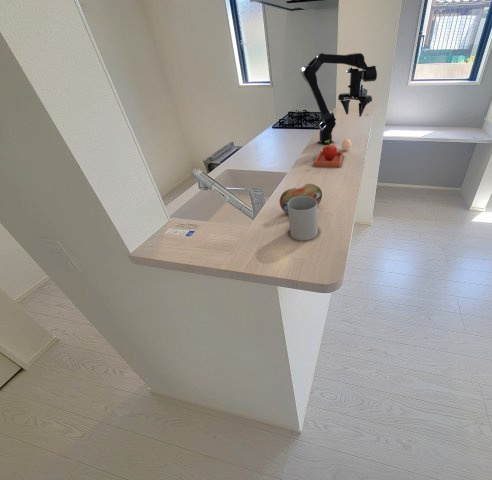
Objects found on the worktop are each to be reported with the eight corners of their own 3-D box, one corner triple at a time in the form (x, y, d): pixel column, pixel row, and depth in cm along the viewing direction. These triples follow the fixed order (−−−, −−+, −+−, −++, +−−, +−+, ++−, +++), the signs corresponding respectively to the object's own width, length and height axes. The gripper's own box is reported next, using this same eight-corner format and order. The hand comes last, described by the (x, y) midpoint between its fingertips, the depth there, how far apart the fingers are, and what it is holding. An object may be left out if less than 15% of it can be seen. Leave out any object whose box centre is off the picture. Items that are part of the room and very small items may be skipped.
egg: (342, 148, 142) (343, 137, 139) (352, 149, 141) (352, 137, 137) (340, 151, 139) (340, 139, 135) (349, 152, 137) (350, 140, 133)
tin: (283, 217, 88) (280, 194, 83) (279, 213, 90) (277, 190, 85) (322, 205, 93) (322, 183, 88) (318, 202, 96) (317, 180, 91)
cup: (318, 225, 83) (318, 196, 78) (317, 240, 77) (316, 210, 71) (292, 224, 84) (289, 196, 78) (288, 240, 78) (285, 210, 72)
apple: (322, 157, 131) (322, 136, 125) (336, 156, 131) (336, 135, 125) (322, 162, 125) (322, 141, 119) (337, 162, 125) (338, 140, 119)
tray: (320, 155, 135) (320, 151, 134) (343, 156, 133) (343, 151, 132) (314, 166, 124) (314, 161, 122) (339, 167, 121) (339, 162, 120)
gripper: (380, 81, 136) (376, 114, 145) (351, 80, 148) (350, 110, 157) (366, 84, 130) (363, 118, 139) (338, 82, 142) (337, 114, 151)
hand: (353, 115), depth 147 cm, fingers open, 9 cm apart
